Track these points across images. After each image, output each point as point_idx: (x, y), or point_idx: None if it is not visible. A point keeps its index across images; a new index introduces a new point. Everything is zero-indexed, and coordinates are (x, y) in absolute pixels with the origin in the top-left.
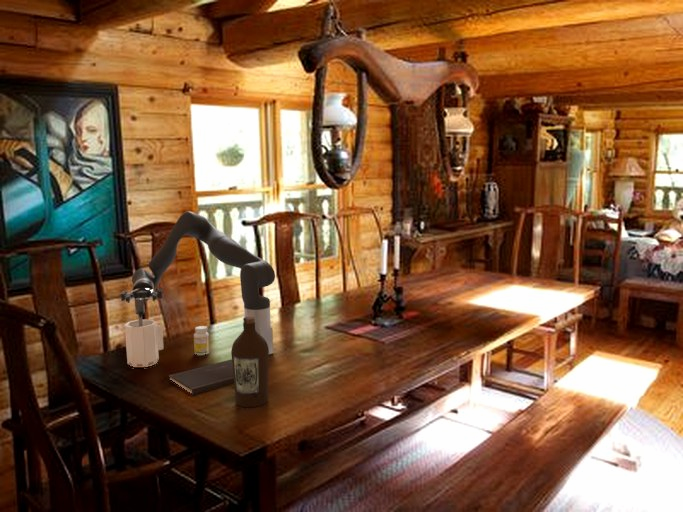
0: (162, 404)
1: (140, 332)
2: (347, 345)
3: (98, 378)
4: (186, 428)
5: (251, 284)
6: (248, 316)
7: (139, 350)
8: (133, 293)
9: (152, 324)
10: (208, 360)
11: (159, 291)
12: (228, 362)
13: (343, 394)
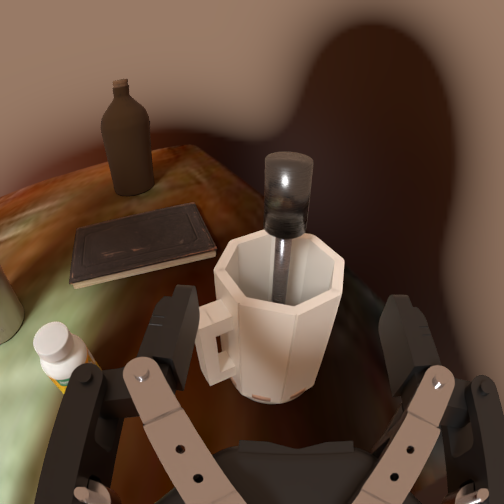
0: (241, 198)
1: None
2: None
3: (372, 304)
4: (222, 164)
5: None
6: (117, 81)
7: None
8: (394, 431)
9: (234, 242)
10: (100, 329)
11: (91, 386)
12: (85, 269)
13: (53, 185)
